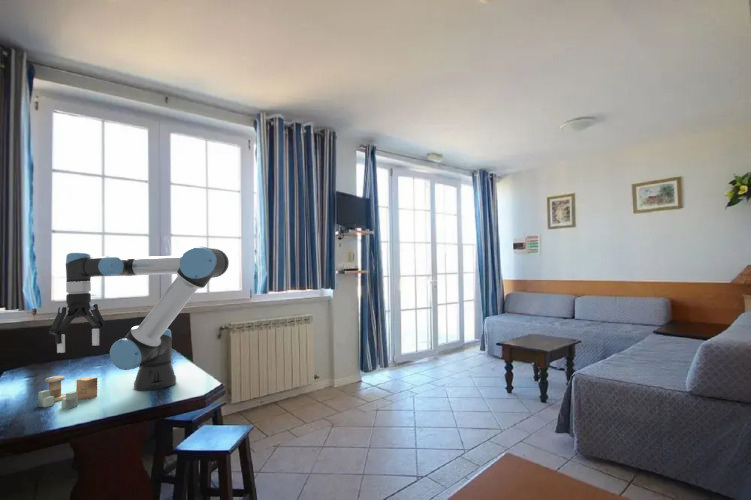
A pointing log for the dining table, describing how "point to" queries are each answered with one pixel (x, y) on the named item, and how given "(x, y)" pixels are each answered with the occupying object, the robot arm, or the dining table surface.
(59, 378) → the bobbin
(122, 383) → the dining table surface
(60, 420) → the dining table surface
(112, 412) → the dining table surface
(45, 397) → the pair of stepped blocks
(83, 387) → the tan tall block
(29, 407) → the dining table surface
